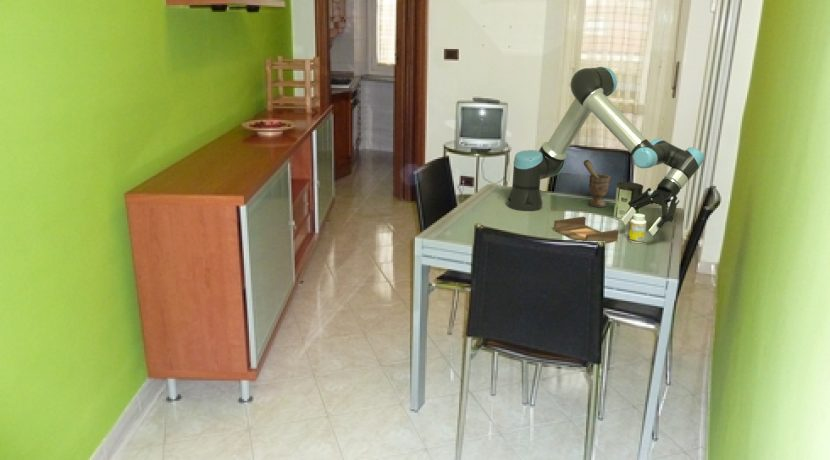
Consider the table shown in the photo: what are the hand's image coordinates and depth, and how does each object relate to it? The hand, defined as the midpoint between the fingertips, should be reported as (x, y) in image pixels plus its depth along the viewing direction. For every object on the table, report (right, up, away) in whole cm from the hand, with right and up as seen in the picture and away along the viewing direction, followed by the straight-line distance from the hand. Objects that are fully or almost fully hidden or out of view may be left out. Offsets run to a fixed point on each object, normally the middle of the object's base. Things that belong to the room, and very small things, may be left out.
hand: (636, 227), depth 243 cm
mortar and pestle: (-3, +10, +47) cm, 48 cm away
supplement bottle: (+1, -5, +2) cm, 6 cm away
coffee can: (+6, +4, +30) cm, 31 cm away
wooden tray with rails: (-17, -3, +7) cm, 19 cm away
